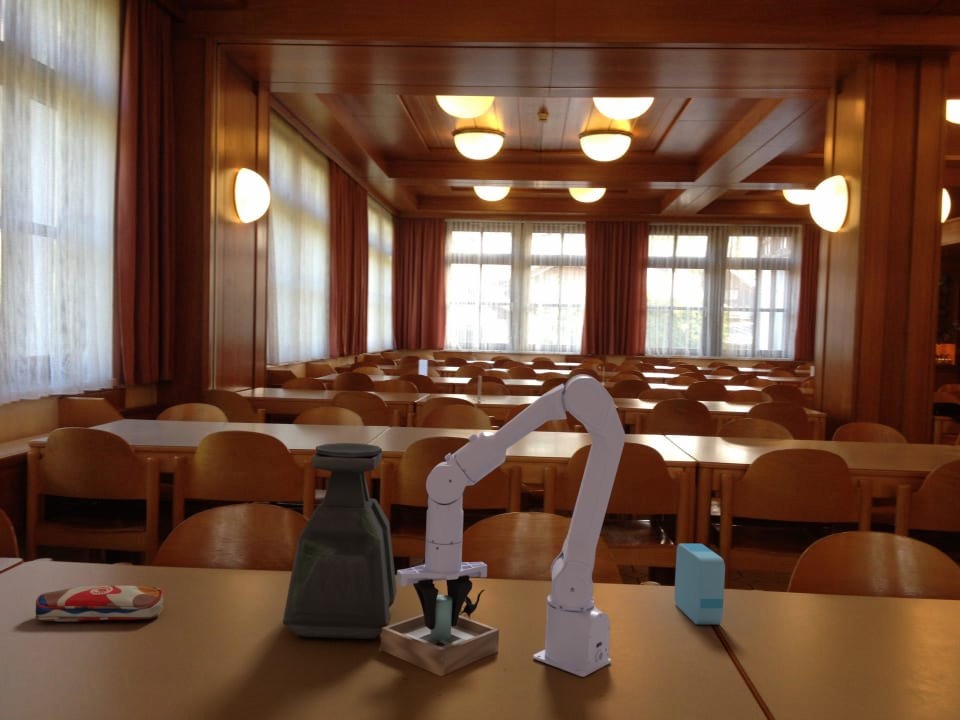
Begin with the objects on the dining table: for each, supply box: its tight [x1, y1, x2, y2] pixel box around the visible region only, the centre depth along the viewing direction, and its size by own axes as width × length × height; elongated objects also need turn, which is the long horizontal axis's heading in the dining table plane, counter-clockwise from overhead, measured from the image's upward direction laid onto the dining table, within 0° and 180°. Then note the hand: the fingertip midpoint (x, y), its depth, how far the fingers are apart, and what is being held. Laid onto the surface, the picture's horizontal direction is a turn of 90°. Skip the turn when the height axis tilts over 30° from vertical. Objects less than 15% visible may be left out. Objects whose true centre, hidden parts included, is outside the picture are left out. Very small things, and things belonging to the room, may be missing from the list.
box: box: [380, 613, 500, 677], centre depth 124 cm, size 13×13×4 cm
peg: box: [430, 594, 452, 640], centre depth 124 cm, size 3×3×6 cm
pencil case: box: [35, 585, 164, 623], centre depth 133 cm, size 11×20×5 cm, turn 84°
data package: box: [674, 543, 726, 625], centre depth 145 cm, size 12×4×12 cm, turn 6°
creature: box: [459, 589, 485, 617], centre depth 141 cm, size 8×5×8 cm
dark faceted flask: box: [282, 442, 398, 640], centre depth 133 cm, size 18×16×30 cm
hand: (440, 625), depth 124 cm, fingers closed on peg, 3 cm apart
